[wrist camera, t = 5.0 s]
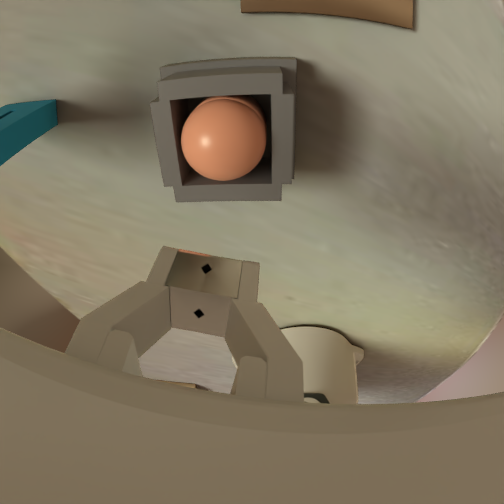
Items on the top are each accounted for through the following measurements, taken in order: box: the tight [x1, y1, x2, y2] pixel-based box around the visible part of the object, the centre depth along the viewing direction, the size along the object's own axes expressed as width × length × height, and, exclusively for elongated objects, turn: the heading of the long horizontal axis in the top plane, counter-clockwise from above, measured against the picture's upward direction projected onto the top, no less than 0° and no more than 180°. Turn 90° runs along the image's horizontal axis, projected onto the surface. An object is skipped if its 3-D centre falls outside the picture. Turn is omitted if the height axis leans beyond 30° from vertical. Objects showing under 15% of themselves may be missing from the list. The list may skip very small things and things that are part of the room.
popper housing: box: [150, 57, 297, 202], centre depth 19 cm, size 9×9×6 cm
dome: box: [181, 95, 267, 181], centre depth 17 cm, size 5×5×6 cm
